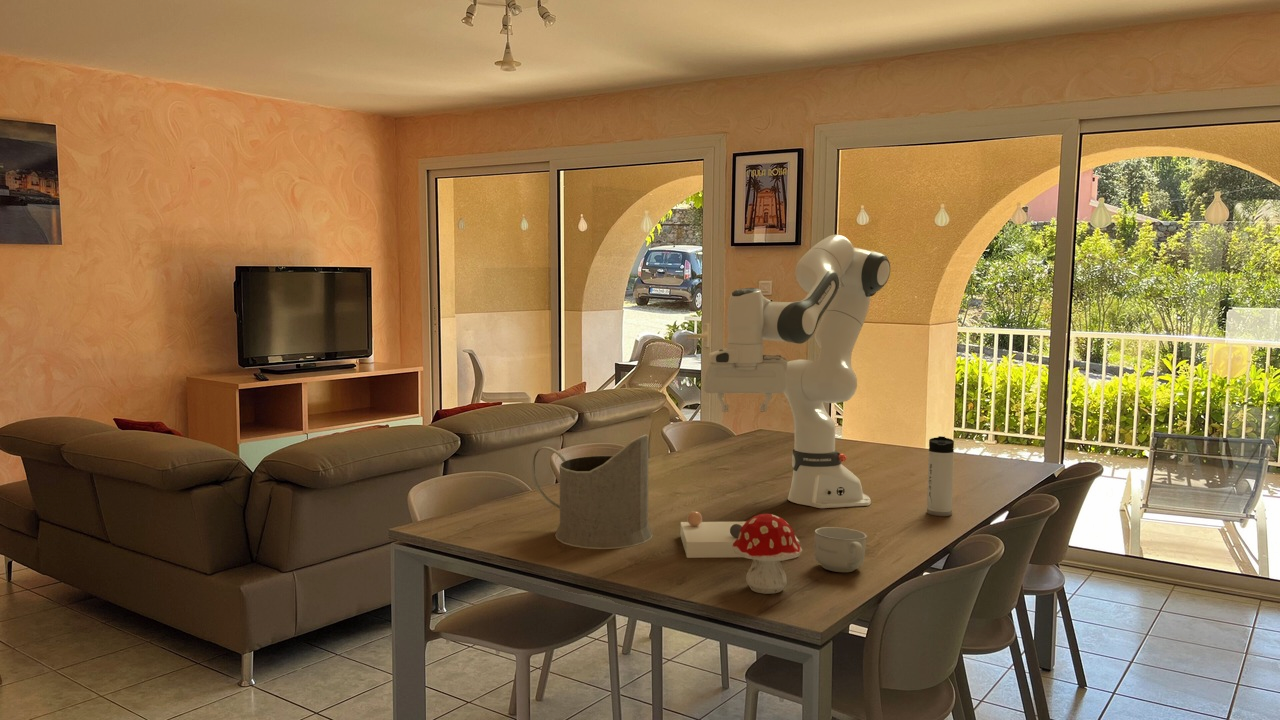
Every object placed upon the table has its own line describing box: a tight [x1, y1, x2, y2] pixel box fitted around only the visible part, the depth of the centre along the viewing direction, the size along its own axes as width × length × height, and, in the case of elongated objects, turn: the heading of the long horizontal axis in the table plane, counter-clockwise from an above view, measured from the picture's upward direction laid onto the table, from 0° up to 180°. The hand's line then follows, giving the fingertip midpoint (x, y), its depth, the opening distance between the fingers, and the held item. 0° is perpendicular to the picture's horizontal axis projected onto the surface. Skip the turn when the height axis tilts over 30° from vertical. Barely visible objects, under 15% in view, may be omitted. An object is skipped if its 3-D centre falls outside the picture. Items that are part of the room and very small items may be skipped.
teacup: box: [813, 526, 868, 573], centre depth 194 cm, size 14×11×8 cm
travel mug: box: [926, 435, 955, 517], centre depth 241 cm, size 6×7×20 cm
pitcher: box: [531, 434, 654, 550], centre depth 222 cm, size 23×32×25 cm
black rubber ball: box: [730, 524, 742, 538], centre depth 206 cm, size 3×3×3 cm
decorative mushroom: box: [732, 513, 803, 595], centre depth 182 cm, size 14×14×15 cm
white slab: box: [680, 521, 800, 559], centre depth 212 cm, size 25×17×4 cm
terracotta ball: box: [686, 510, 703, 526], centre depth 216 cm, size 4×4×4 cm
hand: (744, 411), depth 225 cm, fingers open, 8 cm apart
